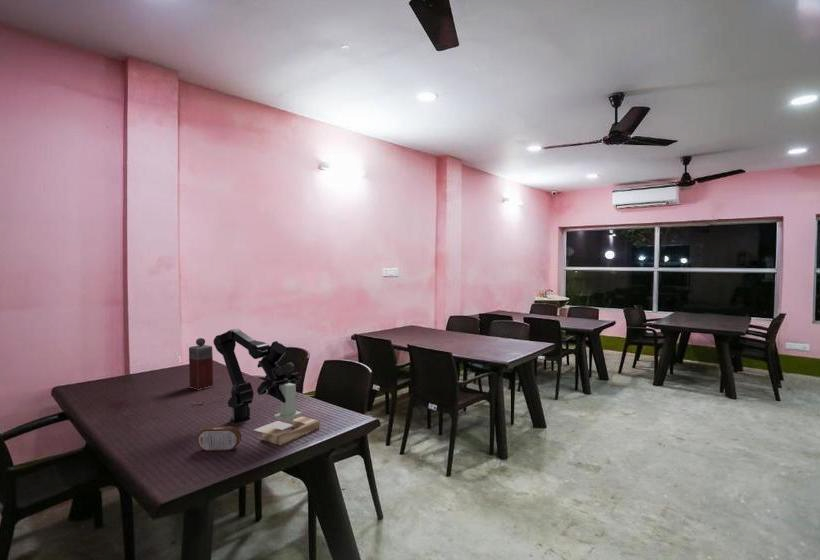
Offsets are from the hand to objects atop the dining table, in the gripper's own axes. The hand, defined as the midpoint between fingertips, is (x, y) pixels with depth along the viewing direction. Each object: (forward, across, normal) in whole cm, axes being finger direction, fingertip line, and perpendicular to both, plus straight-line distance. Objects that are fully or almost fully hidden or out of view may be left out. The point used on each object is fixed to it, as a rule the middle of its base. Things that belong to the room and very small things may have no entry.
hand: (290, 400), depth 164 cm
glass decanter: (-59, +20, +80) cm, 101 cm away
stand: (+9, 0, +10) cm, 13 cm away
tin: (+2, -24, +17) cm, 30 cm away
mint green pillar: (+4, 0, +6) cm, 7 cm away
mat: (+2, 0, +17) cm, 17 cm away
